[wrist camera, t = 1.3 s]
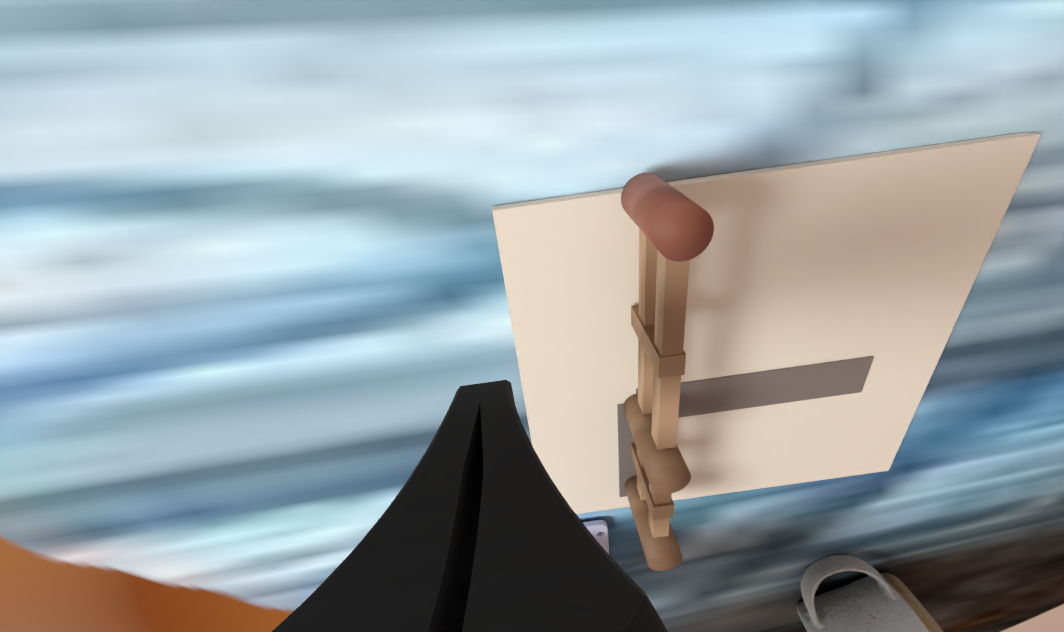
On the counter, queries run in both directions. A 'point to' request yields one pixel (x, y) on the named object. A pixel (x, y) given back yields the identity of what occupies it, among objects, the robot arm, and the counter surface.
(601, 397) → the card
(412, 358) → the counter surface
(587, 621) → the robot arm
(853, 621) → the ceramic mug
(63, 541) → the counter surface
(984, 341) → the counter surface
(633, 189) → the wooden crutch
